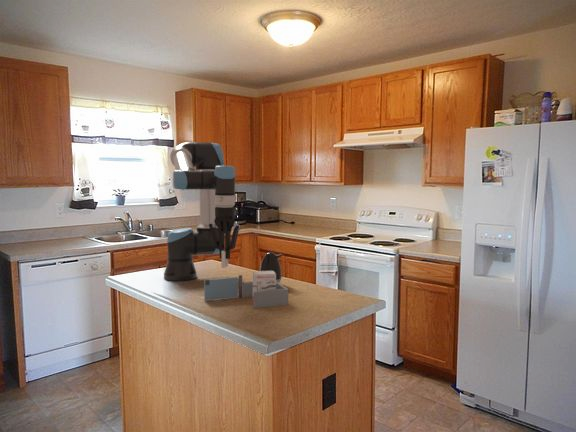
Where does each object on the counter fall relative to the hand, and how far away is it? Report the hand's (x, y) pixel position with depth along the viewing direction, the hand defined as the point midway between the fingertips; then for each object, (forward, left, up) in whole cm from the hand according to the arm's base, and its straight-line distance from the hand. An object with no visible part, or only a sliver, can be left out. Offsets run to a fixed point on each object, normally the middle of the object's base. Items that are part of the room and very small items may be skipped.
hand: (224, 266), depth 163 cm
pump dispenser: (-17, +25, -14) cm, 33 cm away
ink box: (+7, +14, -14) cm, 21 cm away
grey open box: (+5, +14, -14) cm, 20 cm away
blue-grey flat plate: (-2, -1, -13) cm, 13 cm away
